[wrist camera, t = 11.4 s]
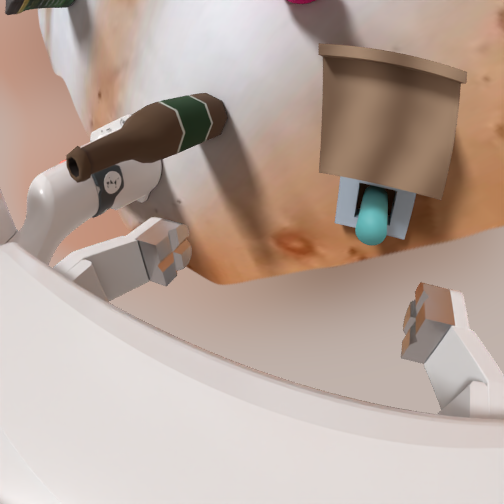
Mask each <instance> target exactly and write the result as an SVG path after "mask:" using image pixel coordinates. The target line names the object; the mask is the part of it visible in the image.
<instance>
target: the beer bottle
mask: <svg viewBox="0 0 504 504" xmlns="http://www.w3.org/2000/svg"><path fill="white" fill-rule="evenodd" d="M227 118H228V117H227V114H226V112H225V109H224V106H223V103H222V101H221V100H219V99H217V98H215V97H213V96H211V95H209V94H207V93H200V94H194V95H188V96H183V97H178V98H173V99H168V100H163V101H159V102H156V103H153V104H150V105H147V106H145V107H144V108H142V109H141V110H139V111H137V112H136V113H134V114H133V115H131V116H130V117H129V118H128V119H127V120H126V121H125V123H124V124H123V126H122V128H121V129H119V130H117V131H115V132H113V133H110V134H108V135H106V136H104V137H102V138H100V139H98V140H96V141H94V142H92V143H90V144H88V145H86V146H84V147H82V148H80V147H78V146H77V147H76V148H75V149H73V150H72V151H71V152H70V153H69V154H68V155H67V159H66V166H67V169H68V171H69V174H70V176H71V177H72V178H73V179H74V180H75V181H76V182H77V183H79V182H84V181H86V180H88V179H89V178H90V177H91V175H92V174H94V173H97V172H99V171H101V170H104V169H106V168H108V167H111V166H113V165H116V164H118V163H121V162H124V161H128V160H135V161H138V162H141V163H153V162H156V161H158V160H161V159H164V158H166V157H169V156H172V155H175V154H177V153H179V152H182V151H184V150H186V149H188V148H191V147H193V146H195V145H197V144H200V143H202V142H205V141H207V140H209V139H212V138H214V137H216V136H218V135H220V134H221V132H222V130H223V127H224V125H225V123H226V120H227Z"/></svg>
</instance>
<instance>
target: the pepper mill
mask: <svg viewBox="0 0 504 504" xmlns="http://www.w3.org/2000/svg"><path fill="white" fill-rule="evenodd" d="M287 1H289V2H292V3H297V4H306V3H310V2H313V1H315V0H287Z"/></svg>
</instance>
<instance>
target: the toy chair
mask: <svg viewBox="0 0 504 504" xmlns="http://www.w3.org/2000/svg"><path fill="white" fill-rule="evenodd" d="M319 55H321V56H323V105H322V131H321V150H320V165H319V173H325V174H331V175H336V176H342V177H347V178H352V179H357V180H362V181H366V182H371V183H375V184H380V185H384V186H389V187H393V188H397V189H401V190H405V191H409V192H413V193H417V194H420V195H424V196H428V197H431V198H435V199H438V200H442V196H443V192H444V188H445V184H446V180H447V175H448V171H449V166H450V161H451V156H452V151H453V145H454V139H455V132H456V125H457V118H458V109H459V99H460V85H461V83H464V84H466V80H467V72H466V71H463V70H460V69H457V68H454V67H451V66H447V65H444V64H441V63H437V62H434V61H430V60H426V59H422V58H418V57H414V56H410V55H405V54H400V53H395V52H390V51H384V50H378V49H372V48H365V47H356V46H347V45H336V44H320V43H319Z"/></svg>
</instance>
